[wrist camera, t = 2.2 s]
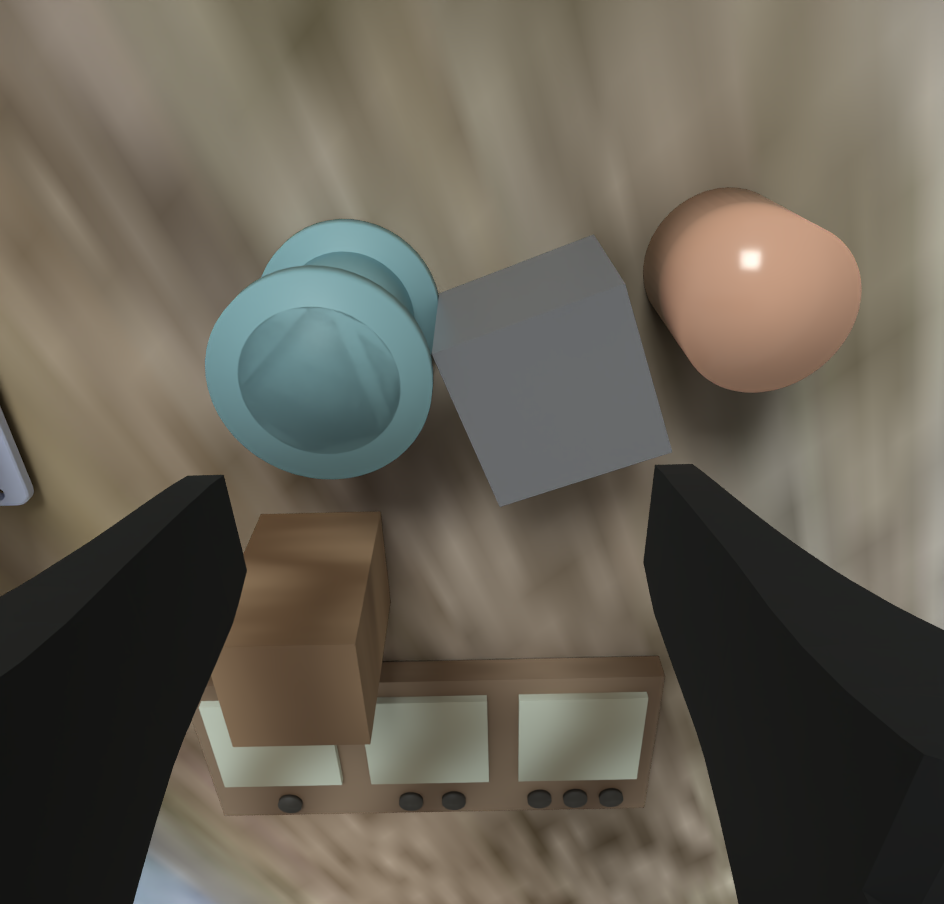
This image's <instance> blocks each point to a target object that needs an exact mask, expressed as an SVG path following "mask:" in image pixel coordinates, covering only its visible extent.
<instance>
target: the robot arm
mask: <svg viewBox="0 0 944 904" xmlns="http://www.w3.org/2000/svg"><path fill="white" fill-rule="evenodd" d="M0 489H1V490H2V491H3V492H4V493H1V492H0V506H15V505H23V504H25V503H26V502H27V501H28V500H29V499H30V498H31V497H32V496H33V493H34V489H33V485H32V483H31V480H30V478H29V475H28V473H27V471H26V468H25V466H24V463H23V461H22V458H21V456H20V454H19V451H18V449H17V446H16V444H15V441H14V439H13V436H12V434H11V432H10V429H9V427H8V424H7V422H6V419H5V417H4V414H3V412H2V410H1V407H0ZM644 567H645V572H646V577H647V582H648V587H649V592H650V596H651V601H652V605H653V610H654V614H655V617H656V620H657V623H658V626H659V629H660V632H661V634H662V637H663V640H664V643H665V646H666V649H667V651H668V654H669V657H670V660H671V663H672V665H673V668H674V671H675V674H676V676H677V679H678V682H679V685H680V687H681V690H682V693H683V696H684V699H685V701H686V704H687V707H688V710H689V712H690V715H691V718H692V721H693V723H694V726H695V729H696V732H697V735H698V738H699V742H700V745H701V748H702V751H703V754H704V758H705V762H706V766H707V770H708V774H709V778H710V782H711V786H712V790H713V794H714V798H715V802H716V806H717V810H718V814H719V819H720V823H721V827H722V832H723V836H724V840H725V845H726V849H727V854H728V858H729V862H730V867H731V871H732V876H733V880H734V884H735V889H736V894H737V899H738V904H944V630H942V629H940V628H938V627H936V626H934V625H932V624H930V623H928V622H926V621H924V620H922V619H920V618H918V617H916V616H914V615H912V614H910V613H908V612H906V611H904V610H902V609H900V608H898V607H897V606H895V605H893V604H891V603H889V602H887V601H886V600H884V599H882V598H880V597H879V596H877V595H875V594H874V593H872V592H870V591H868V590H867V589H865V588H863V587H861V586H860V585H858V584H856V583H854V582H853V581H851V580H849V579H848V578H846V577H844V576H843V575H841V574H840V573H838V572H836V571H835V570H833V569H832V568H830V567H829V566H827V565H826V564H824V563H823V562H821V561H820V560H818V559H817V558H815V557H814V556H812V555H811V554H809V553H808V552H806V551H805V550H804V549H802V548H801V547H799V546H798V545H796V544H795V543H793V542H792V541H791V540H789V539H788V538H787V537H785V536H784V535H782V534H781V533H780V532H778V531H777V530H776V529H774V528H773V527H772V526H770V525H769V524H768V523H766V522H765V521H764V520H762V519H761V518H760V517H759V516H757V515H756V514H755V513H753V512H752V511H751V510H750V509H748V508H747V507H746V506H745V505H743V504H742V503H741V502H740V501H738V500H737V499H736V498H735V497H733V496H732V495H731V494H730V493H728V492H727V491H726V490H725V489H723V488H722V487H721V486H720V485H719V484H717V483H716V482H715V481H714V480H712V479H711V478H710V477H709V476H707V475H706V474H705V473H704V472H702V471H701V470H700V469H698V468H697V467H696V466H694V465H693V464H675V465H655V470H654V478H653V486H652V495H651V503H650V512H649V520H648V528H647V537H646V545H645V554H644ZM246 573H247V568H246V564H245V559H244V555H243V551H242V547H241V543H240V539H239V535H238V531H237V527H236V523H235V519H234V515H233V511H232V507H231V503H230V499H229V495H228V491H227V487H226V483H225V479H224V475H200V476H187V477H185V478H183V479H181V480H179V481H178V482H176V483H175V484H173V485H171V486H170V487H168V488H167V489H165V490H164V491H162V492H161V493H159V494H158V495H156V496H155V497H153V498H152V499H151V500H149V501H148V502H146V503H145V504H143V505H142V506H141V507H139V508H138V509H136V510H135V511H133V512H132V513H131V514H129V515H128V516H126V517H125V518H123V519H122V520H120V521H119V522H118V523H116V524H115V525H113V526H112V527H110V528H109V529H107V530H106V531H104V532H103V533H102V534H100V535H99V536H97V537H96V538H94V539H93V540H91V541H90V542H88V543H87V544H85V545H84V546H82V547H81V548H79V549H77V550H76V551H74V552H73V553H71V554H70V555H68V556H67V557H65V558H63V559H62V560H60V561H59V562H57V563H56V564H54V565H52V566H51V567H49V568H48V569H46V570H45V571H43V572H41V573H40V574H38V575H37V576H35V577H34V578H32V579H30V580H29V581H27V582H25V583H23V584H22V585H20V586H18V587H17V588H15V589H13V590H11V591H10V592H8V593H6V594H4V595H3V596H1V597H0V904H133V902H134V898H135V894H136V891H137V887H138V883H139V880H140V876H141V873H142V869H143V866H144V862H145V859H146V855H147V852H148V848H149V845H150V841H151V837H152V834H153V830H154V827H155V824H156V820H157V817H158V814H159V811H160V807H161V804H162V801H163V798H164V794H165V791H166V788H167V785H168V782H169V778H170V775H171V772H172V769H173V766H174V763H175V760H176V758H177V755H178V752H179V750H180V747H181V745H182V742H183V739H184V737H185V735H186V732H187V730H188V728H189V725H190V723H191V721H192V718H193V716H194V714H195V711H196V709H197V707H198V705H199V702H200V700H201V698H202V695H203V693H204V691H205V688H206V686H207V684H208V681H209V679H210V677H211V674H212V672H213V670H214V668H215V665H216V663H217V661H218V658H219V656H220V653H221V651H222V649H223V646H224V644H225V641H226V639H227V637H228V634H229V632H230V629H231V627H232V624H233V622H234V618H235V615H236V611H237V608H238V604H239V601H240V597H241V593H242V589H243V585H244V581H245V577H246Z"/></svg>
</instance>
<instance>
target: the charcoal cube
mask: <svg viewBox="0 0 944 904" xmlns="http://www.w3.org/2000/svg"><path fill="white" fill-rule="evenodd" d="M432 356H433V358H434V361H435V363H436V365H437V367H438V370H439V372H440V374H441V376H442V378H443V381H444V383H445V385H446V387H447V390H448V392H449V394H450V396H451V399H452V401H453V403H454V405H455V408H456V410H457V412H458V414H459V417H460V419H461V421H462V423H463V426H464V428H465V430H466V432H467V435H468V437H469V439H470V441H471V444H472V446H473V448H474V450H475V453H476V455H477V457H478V459H479V462H480V464H481V466H482V468H483V471H484V473H485V475H486V477H487V479H488V482H489V484H490V486H491V488H492V491H493V493H494V495H495V497H496V500H497V502H498V504H499V506H500V507H501V506H504V505H507V504H510V503H514V502H517V501H520V500H523V499H526V498H529V497H533V496H536V495H539V494H542V493H545V492H548V491H551V490H555V489H558V488H561V487H564V486H567V485H570V484H573V483H577V482H580V481H583V480H586V479H589V478H592V477H595V476H599V475H602V474H605V473H608V472H611V471H614V470H617V469H621V468H624V467H627V466H630V465H633V464H636V463H640V462H643V461H646V460H649V459H652V458H655V457H658V456H662V455H665V454H668V453H671V452H672V449H671V445H670V442H669V438H668V435H667V431H666V428H665V424H664V420H663V417H662V413H661V410H660V406H659V403H658V399H657V396H656V392H655V389H654V385H653V381H652V378H651V374H650V371H649V367H648V364H647V360H646V357H645V353H644V349H643V346H642V342H641V339H640V335H639V332H638V328H637V325H636V321H635V317H634V314H633V310H632V307H631V303H630V300H629V296H628V293H627V289H626V285H625V283H624V281H623V280H622V278H621V277H620V275H619V273H618V272H617V270H616V269H615V267H614V266H613V264H612V262H611V261H610V259H609V258H608V256H607V255H606V253H605V251H604V250H603V248H602V247H601V245H600V244H599V242H598V240H597V239H596V237H595V236H594V235H591V236H588V237H586V238H583V239H581V240H578V241H575V242H573V243H570V244H567V245H565V246H562V247H560V248H557V249H554V250H552V251H549V252H546V253H544V254H541V255H539V256H536V257H533V258H531V259H528V260H526V261H523V262H520V263H518V264H515V265H512V266H510V267H507V268H505V269H502V270H499V271H497V272H494V273H491V274H489V275H486V276H484V277H481V278H478V279H476V280H473V281H471V282H468V283H465V284H463V285H460V286H457V287H455V288H452V289H450V290H447V291H444V292H442V293H439V298H438V306H437V314H436V323H435V331H434V339H433V348H432Z"/></svg>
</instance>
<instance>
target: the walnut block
mask: <svg viewBox="0 0 944 904" xmlns="http://www.w3.org/2000/svg"><path fill="white" fill-rule="evenodd" d="M243 555H244V559H245V564H246V568H247V573H246V577H245V581H244V585H243V589H242V593H241V597H240V601H239V604H238V608H237V611H236V615H235V618H234V622H233V624H232V627H231V629H230V632H229V634H228V637H227V639H226V641H225V644H224V646H223V649H222V651H221V653H220V656H219V658H218V661H217V663H216V665H215V668H214V670H213V672H212V674H211V677H212V681H213V684H214V687H215V690H216V694H217V697H218V700H219V704H220V707H221V710H222V713H223V717H224V720H225V723H226V726H227V730H228V733H229V736H230V739H231V743H232V746H233V747H266V746H316V745H367V744H371V737H372V730H373V723H374V716H375V709H376V702H377V695H378V688H379V681H380V674H381V667H382V659H383V652H384V645H385V638H386V631H387V624H388V617H389V610H390V603H391V600H390V592H389V583H388V574H387V565H386V557H385V548H384V539H383V530H382V521H381V513H380V511H378V512H337V513H295V514H261V515H260V518H259V520H258V522H257V525H256V527H255V529H254V531H253V534H252V536H251V538H250V540H249V543H248V545H247V547H246V550H245V552H244V554H243Z"/></svg>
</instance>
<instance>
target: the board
mask: <svg viewBox="0 0 944 904" xmlns="http://www.w3.org/2000/svg"><path fill="white" fill-rule="evenodd" d="M664 680H665V675H664V672H663V668H662V665H661V662H660V659H659V656H637V657H591V658H545V659H500V660H454V661H408V662H382V667H381V674H380V681H379V688H378V695H377V702H376V709H375V716H374V723H373V730H372V737H371V744H367V745H316V746H266V747H233V746H232V743H231V739H230V736H229V733H228V730H227V726H226V723H225V720H224V717H223V713H222V710H221V707H220V704H219V700H218V697H217V694H216V690H215V687H214V684H213V681H212V677H210V679H209V681H208V684H207V686H206V688H205V691H204V693H203V695H202V698H201V700H200V702H199V705H198V707H197V709H196V711H195V714H194V716H193V718H192V722H193V725H194V728H195V731H196V734H197V736H198V739H199V742H200V745H201V748H202V751H203V754H204V757H205V760H206V763H207V766H208V769H209V772H210V775H211V777H212V780H213V783H214V786H215V789H216V792H217V795H218V798H219V801H220V804H221V807H222V810H223V813H224V815H225V816H242V815H294V814H346V813H397V812H449V811H501V810H553V809H605V808H644V806H645V800H646V793H647V787H648V781H649V774H650V768H651V762H652V755H653V749H654V743H655V736H656V730H657V724H658V717H659V711H660V705H661V699H662V692H663V686H664Z"/></svg>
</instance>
